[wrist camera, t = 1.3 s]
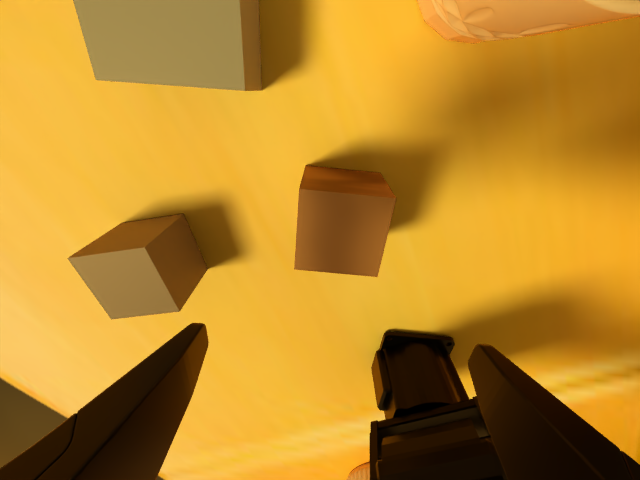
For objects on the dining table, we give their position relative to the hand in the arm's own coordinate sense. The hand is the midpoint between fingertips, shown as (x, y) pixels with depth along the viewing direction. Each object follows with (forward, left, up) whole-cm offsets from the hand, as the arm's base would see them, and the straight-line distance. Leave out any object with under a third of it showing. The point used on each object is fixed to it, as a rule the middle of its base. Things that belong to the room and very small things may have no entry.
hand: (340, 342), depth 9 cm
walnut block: (0, 0, -12) cm, 12 cm away
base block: (+9, -10, -12) cm, 18 cm away
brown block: (+13, +5, -12) cm, 18 cm away
